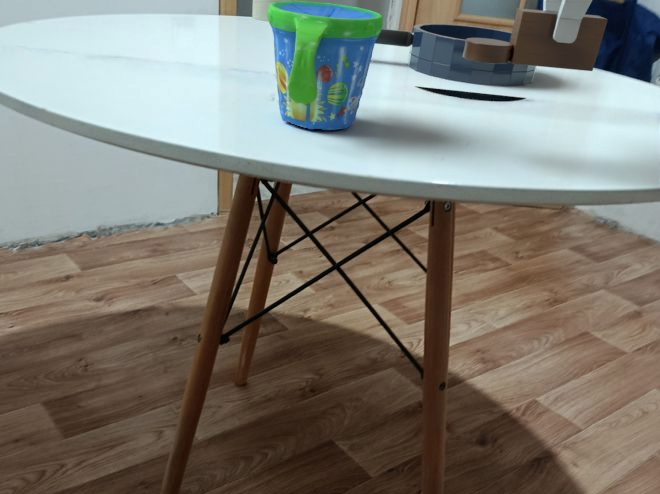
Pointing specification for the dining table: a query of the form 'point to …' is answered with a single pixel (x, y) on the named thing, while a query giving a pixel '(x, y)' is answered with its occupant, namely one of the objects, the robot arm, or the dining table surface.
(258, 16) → the travel mug
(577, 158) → the dining table surface
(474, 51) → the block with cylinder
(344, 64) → the snack cup
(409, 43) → the pan handle
